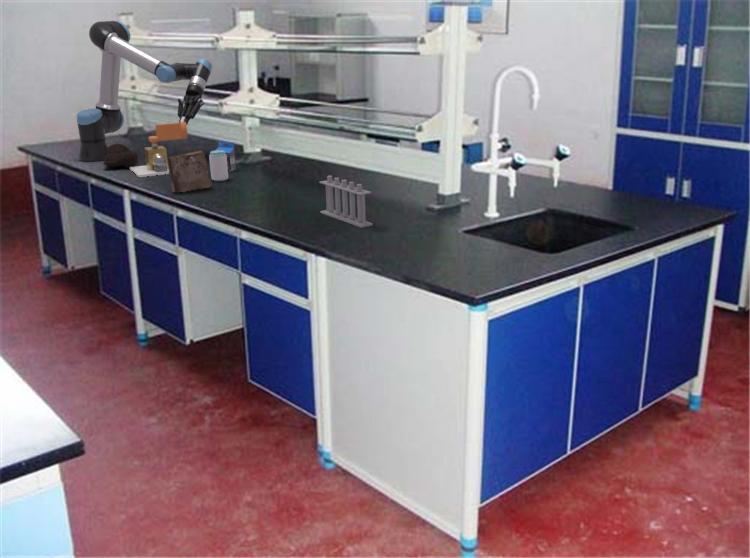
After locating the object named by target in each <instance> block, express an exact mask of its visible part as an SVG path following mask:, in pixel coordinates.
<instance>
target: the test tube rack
mask: <svg viewBox="0 0 750 558" xmlns="http://www.w3.org/2000/svg"><path fill="white" fill-rule="evenodd" d="M326 179H327V180H321V181H319V182H318V183H319V184H322V185H324V186H325V198H326V199H325V200H326V202H325V203H326V209H325V210H324V209H323V210H320V214H321V215H322V214H323V215H325V216H327V217H331V218H334V219H336V220H340V221H341V222H345V223H348V224H351V225H353V226H356V227H358V228H361V229H362V228H367V227H371V226H372V227H373V222H370V221H367V220H366V219H367V217H366V195H369V194H372V191H370V190H366V189H363V185H362V183H356V187H355V182H354V181H349V182H348V181H347V179H340V177H334V178H333V175H327V176H326ZM333 179H334V180H333ZM340 180H341V182H340ZM348 194H349V196H348ZM355 196H356V197H355ZM348 197H349V199H348ZM341 198H342V199H341ZM341 200H342V201H341ZM348 200H349V202H348ZM341 203H342V205H341ZM348 205H349V206H348ZM356 205H357V217H356ZM334 206H335V207H334ZM341 207H342V209H341ZM341 210H342V211H341Z"/></svg>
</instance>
